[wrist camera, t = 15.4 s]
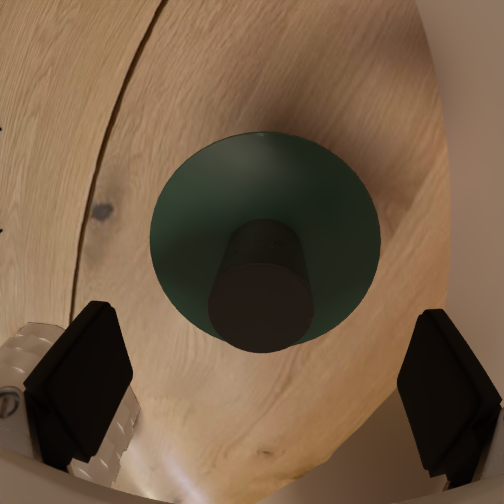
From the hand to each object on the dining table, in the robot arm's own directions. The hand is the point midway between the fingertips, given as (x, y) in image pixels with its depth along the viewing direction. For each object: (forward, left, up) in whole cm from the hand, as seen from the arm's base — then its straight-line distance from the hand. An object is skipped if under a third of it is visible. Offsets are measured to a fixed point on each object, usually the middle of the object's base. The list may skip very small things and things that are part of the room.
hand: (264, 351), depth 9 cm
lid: (0, 0, -9) cm, 9 cm away
